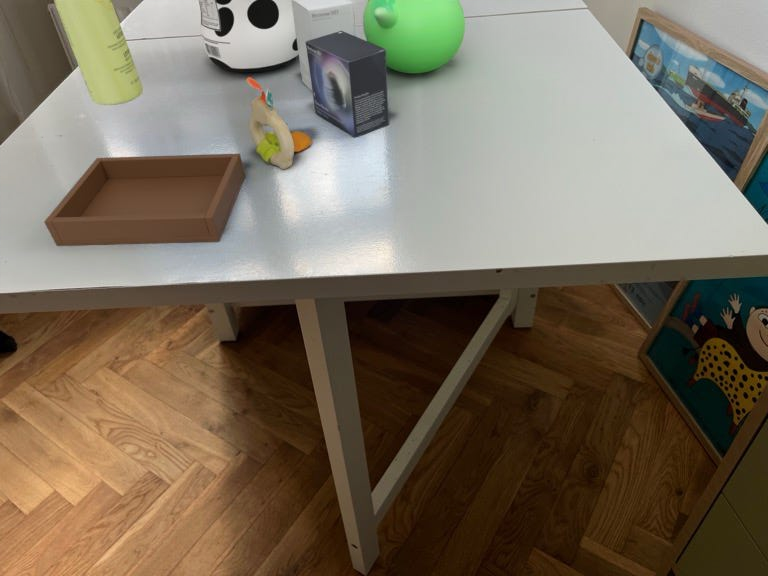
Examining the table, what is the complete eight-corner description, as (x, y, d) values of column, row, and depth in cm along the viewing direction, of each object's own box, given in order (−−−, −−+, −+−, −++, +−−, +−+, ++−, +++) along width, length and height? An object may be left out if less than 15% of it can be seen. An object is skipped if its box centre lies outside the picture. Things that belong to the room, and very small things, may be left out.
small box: (311, 114, 81) (301, 39, 74) (348, 102, 84) (342, 29, 77) (353, 139, 75) (346, 60, 68) (391, 124, 78) (388, 47, 71)
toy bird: (480, 78, 89) (487, -24, 79) (381, 96, 85) (376, -9, 75) (434, 45, 102) (436, -47, 92) (347, 59, 98) (339, -35, 88)
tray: (56, 245, 59) (43, 221, 57) (106, 180, 69) (96, 157, 67) (219, 241, 58) (212, 217, 56) (245, 175, 69) (240, 153, 66)
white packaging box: (317, 98, 86) (306, 9, 77) (301, 82, 91) (289, -2, 82) (360, 88, 88) (354, 1, 80) (343, 73, 93) (335, -10, 85)
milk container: (315, 45, 104) (302, -67, 92) (295, 80, 92) (276, -44, 80) (226, 46, 106) (202, -64, 94) (195, 80, 93) (162, -41, 81)
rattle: (333, 160, 71) (322, 69, 63) (274, 179, 68) (255, 87, 60) (307, 138, 75) (294, 52, 68) (251, 156, 72) (231, 67, 65)
